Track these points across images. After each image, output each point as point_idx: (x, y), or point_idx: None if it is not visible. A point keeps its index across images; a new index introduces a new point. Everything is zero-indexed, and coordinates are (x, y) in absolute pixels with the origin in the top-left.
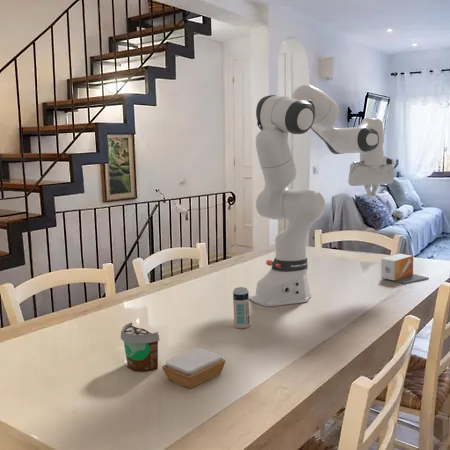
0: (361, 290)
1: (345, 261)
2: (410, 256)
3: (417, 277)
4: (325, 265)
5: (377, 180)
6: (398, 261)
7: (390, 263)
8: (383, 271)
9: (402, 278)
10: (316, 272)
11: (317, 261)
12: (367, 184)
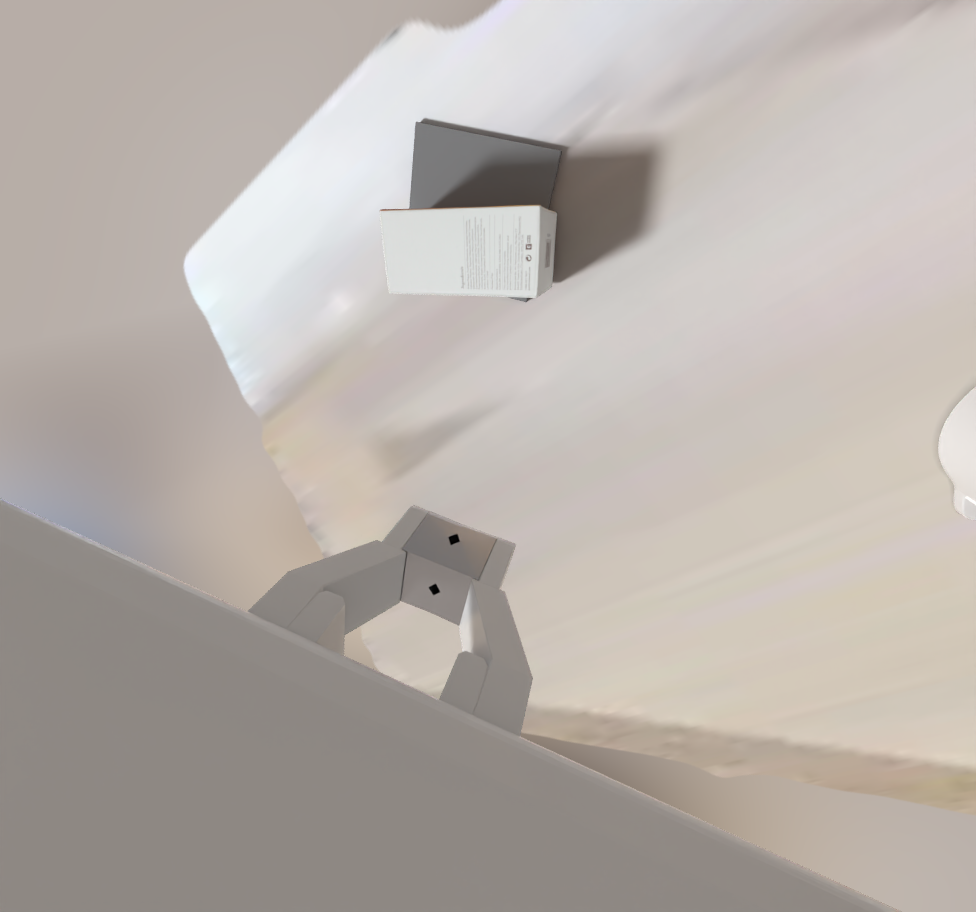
0: (784, 237)
1: None
2: (401, 210)
3: (444, 166)
4: (507, 539)
5: (199, 721)
6: (511, 205)
7: (543, 236)
8: (548, 277)
9: None
10: (607, 522)
11: None
12: (590, 781)
